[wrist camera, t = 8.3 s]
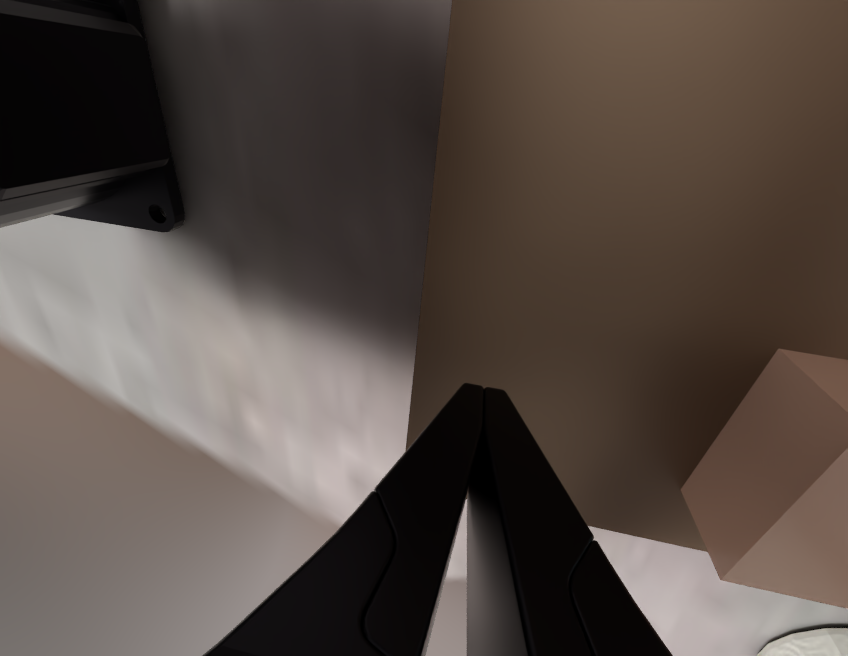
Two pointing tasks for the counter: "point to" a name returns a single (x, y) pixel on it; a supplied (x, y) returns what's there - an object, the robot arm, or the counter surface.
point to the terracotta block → (781, 483)
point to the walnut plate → (634, 229)
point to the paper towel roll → (810, 644)
